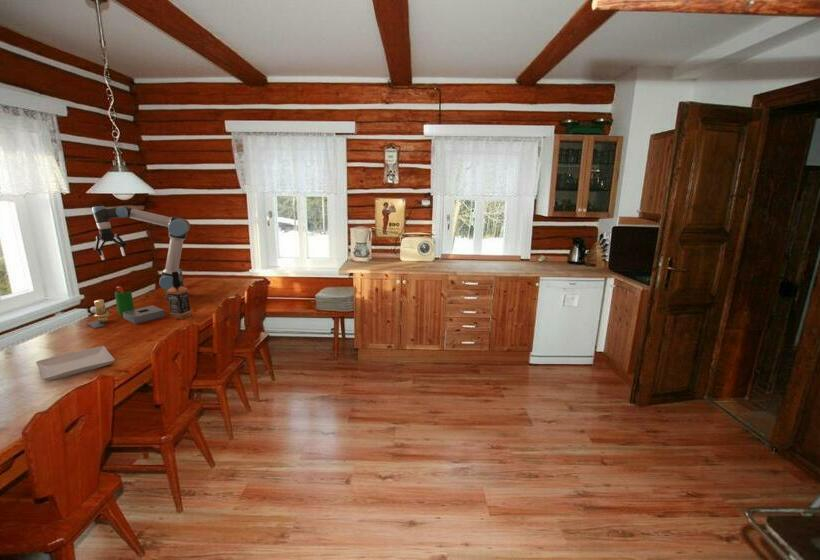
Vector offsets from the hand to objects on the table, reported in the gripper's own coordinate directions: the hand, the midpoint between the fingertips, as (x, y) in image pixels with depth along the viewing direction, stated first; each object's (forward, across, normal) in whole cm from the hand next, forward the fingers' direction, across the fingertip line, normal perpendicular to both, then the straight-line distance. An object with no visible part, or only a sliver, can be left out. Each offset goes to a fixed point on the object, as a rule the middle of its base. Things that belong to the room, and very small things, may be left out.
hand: (113, 257), depth 278 cm
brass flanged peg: (+38, +28, +22) cm, 52 cm away
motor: (+39, +10, +14) cm, 42 cm away
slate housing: (+42, +12, +38) cm, 58 cm away
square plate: (+46, +68, +77) cm, 113 cm away
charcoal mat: (+39, +28, +22) cm, 53 cm away
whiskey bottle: (+45, -2, +55) cm, 71 cm away
